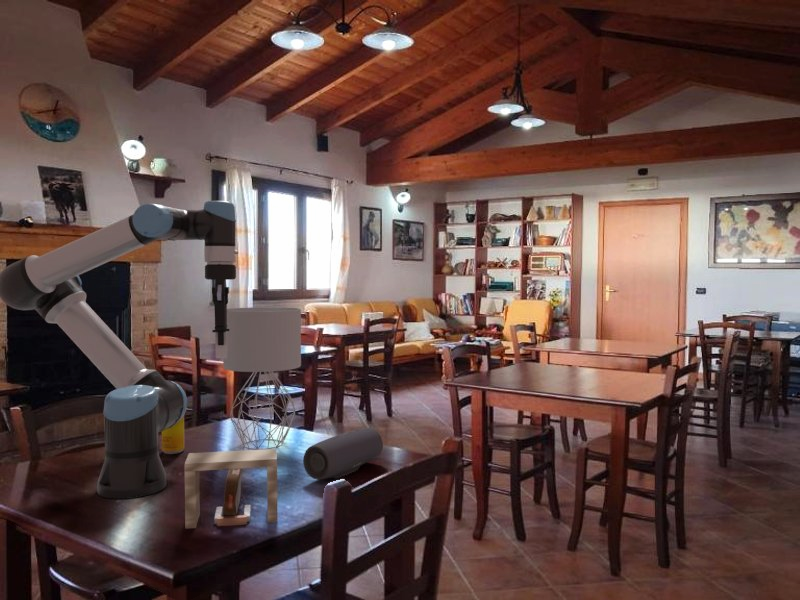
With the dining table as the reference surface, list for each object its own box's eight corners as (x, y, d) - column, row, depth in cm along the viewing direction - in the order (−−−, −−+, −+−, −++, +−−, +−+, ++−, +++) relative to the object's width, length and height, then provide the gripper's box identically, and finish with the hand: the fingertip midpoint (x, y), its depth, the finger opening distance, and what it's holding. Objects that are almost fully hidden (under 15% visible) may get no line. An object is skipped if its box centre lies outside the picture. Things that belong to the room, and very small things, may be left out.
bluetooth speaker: (356, 459, 182) (356, 423, 181) (384, 464, 177) (384, 427, 176) (301, 481, 163) (300, 441, 162) (331, 488, 158) (331, 446, 157)
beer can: (158, 451, 189) (157, 398, 189) (178, 447, 194) (178, 396, 193) (167, 455, 185) (166, 402, 184) (188, 451, 189) (187, 399, 188)
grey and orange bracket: (214, 526, 134) (213, 519, 134) (216, 512, 141) (216, 505, 141) (249, 524, 135) (249, 516, 135) (250, 510, 143) (250, 503, 143)
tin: (229, 498, 151) (229, 461, 150) (244, 497, 151) (243, 460, 151) (222, 522, 136) (221, 481, 136) (237, 521, 136) (237, 481, 136)
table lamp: (211, 443, 199) (209, 309, 197) (277, 431, 213) (276, 306, 211) (245, 459, 181) (244, 312, 180) (315, 445, 196) (315, 309, 194)
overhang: (185, 528, 132) (184, 464, 132) (189, 514, 140) (189, 453, 140) (277, 522, 136) (277, 459, 136) (276, 508, 144) (276, 448, 143)
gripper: (234, 263, 161) (235, 360, 162) (236, 264, 174) (237, 354, 175) (202, 263, 159) (203, 361, 160) (207, 264, 172) (208, 355, 173)
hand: (221, 357), depth 167 cm, fingers closed
